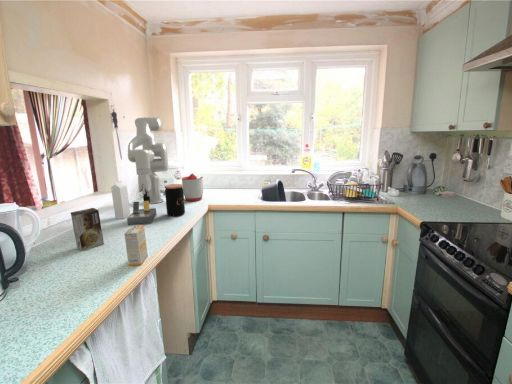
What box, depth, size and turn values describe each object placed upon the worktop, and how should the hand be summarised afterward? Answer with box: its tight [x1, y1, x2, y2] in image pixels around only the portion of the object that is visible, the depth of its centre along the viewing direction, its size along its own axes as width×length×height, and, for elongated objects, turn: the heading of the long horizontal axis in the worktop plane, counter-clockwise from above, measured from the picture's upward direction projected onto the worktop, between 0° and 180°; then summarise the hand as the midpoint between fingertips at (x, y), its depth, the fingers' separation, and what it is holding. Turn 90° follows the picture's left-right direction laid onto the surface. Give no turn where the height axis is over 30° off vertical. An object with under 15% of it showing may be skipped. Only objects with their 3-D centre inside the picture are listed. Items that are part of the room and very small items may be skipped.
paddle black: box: [132, 201, 140, 213], centre depth 154 cm, size 2×3×7 cm, turn 101°
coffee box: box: [70, 207, 105, 252], centre depth 116 cm, size 9×6×16 cm
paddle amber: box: [142, 200, 151, 212], centre depth 154 cm, size 2×3×7 cm, turn 101°
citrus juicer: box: [181, 173, 204, 202], centre depth 200 cm, size 16×17×20 cm
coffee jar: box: [164, 183, 186, 218], centre depth 162 cm, size 11×11×18 cm
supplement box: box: [123, 224, 148, 267], centre depth 101 cm, size 8×5×13 cm, turn 5°
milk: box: [110, 180, 131, 220], centre depth 157 cm, size 6×6×22 cm
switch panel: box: [126, 207, 158, 226], centre depth 154 cm, size 18×12×4 cm, turn 11°
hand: (147, 202), depth 156 cm, fingers closed
